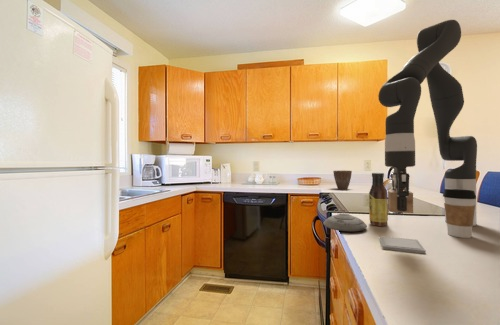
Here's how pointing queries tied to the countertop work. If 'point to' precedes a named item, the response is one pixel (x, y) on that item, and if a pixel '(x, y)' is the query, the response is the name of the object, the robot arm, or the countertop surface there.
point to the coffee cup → (459, 212)
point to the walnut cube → (393, 202)
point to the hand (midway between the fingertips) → (400, 208)
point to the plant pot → (342, 179)
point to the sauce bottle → (378, 201)
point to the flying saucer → (345, 223)
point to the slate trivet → (401, 244)
